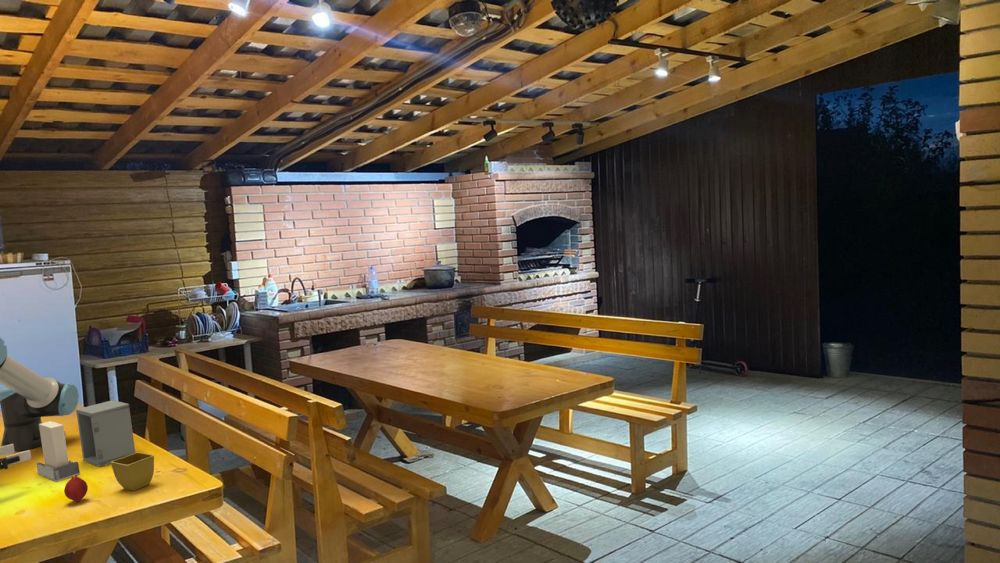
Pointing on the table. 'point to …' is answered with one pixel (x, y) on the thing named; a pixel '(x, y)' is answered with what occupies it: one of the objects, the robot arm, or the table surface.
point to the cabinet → (105, 432)
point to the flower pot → (134, 470)
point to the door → (53, 444)
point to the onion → (75, 488)
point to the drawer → (58, 471)
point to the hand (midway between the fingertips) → (22, 451)
